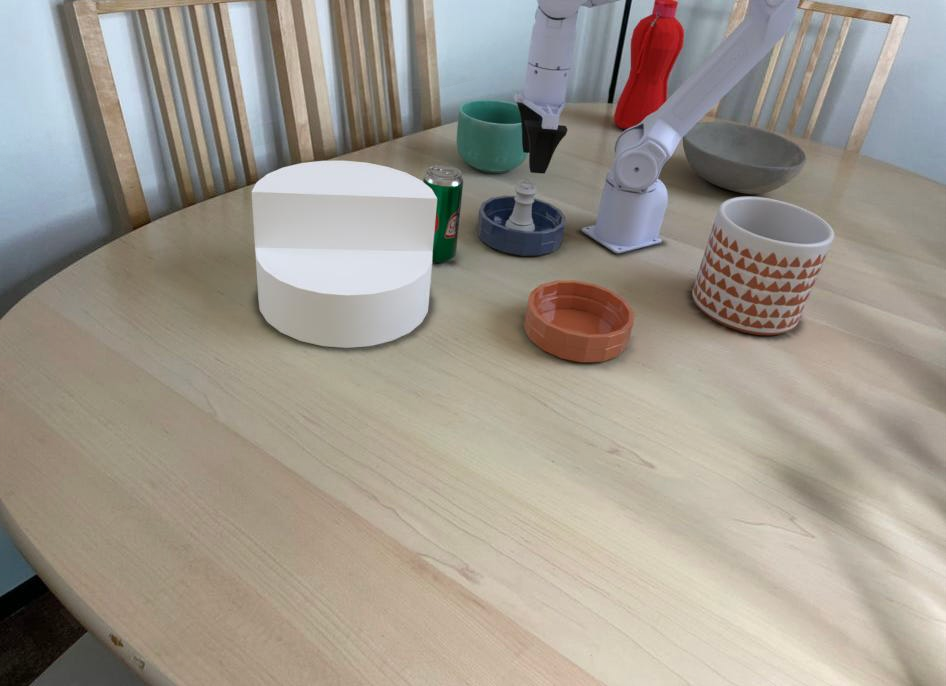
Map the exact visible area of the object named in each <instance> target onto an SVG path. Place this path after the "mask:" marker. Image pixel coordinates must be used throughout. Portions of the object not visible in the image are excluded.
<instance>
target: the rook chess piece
mask: <svg viewBox="0 0 946 686" xmlns="http://www.w3.org/2000/svg"><path fill="white" fill-rule="evenodd" d="M536 185H537V183H536V182H535V181H533V180H531V179H529V180H528V182H527V180H526V178H525V179H523V178H522V179H519V180H517V184H516V185H515V186H514V191H515V193H516V195H515V196H516V197H515V198H514V199H515V206H514V209H513V213H512V215H511V216H510V217H509V220H507V221H506V224H505V226H506V227H507V228H509V229H515V230H520V231H534V230H535V225H534V223H533V219H532V203H533V202H534V199H533V198H534V196H535V195H537V193H538V189H537V187H536Z"/></svg>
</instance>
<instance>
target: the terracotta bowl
mask: <svg viewBox="0 0 946 686" xmlns="http://www.w3.org/2000/svg"><path fill="white" fill-rule="evenodd" d="M634 323H635V311H634V310H633V309H632V307H631V306H630V304H629V302H628V301H627V300H626V299H625V298H623V297H622V296H620V295H619V294H617V293H616V292H614V291H613V290H611V289H608V288H606V287H603V286H601V285H598V284H595V283H592V282H586V281H580V280H574V279H573V280H571V279H568V280H567V279H565V280H553V281H548V282H545V283H542V284H539V285H538V286H537V287H535V288H534V289H533V290H532V291H530V293H529V296H528V300H527V306H526V312H525V317H524V323H523V328H524V331H525V333H526V335H527V337H528V339H529V340H530V341H532V343H534V344H535V345H536V346H537V347H538V348H540V349H541V350H542V351H544V352H547V353H549V354H551V355H552V356H556V357H557V358H560V359H563V360H567V361H573V362H578V363H601V362H606V361H608V360H611V359H615V358H618V357H620V355H621V354H622V353H623V352H624V351H625V350H626V349H627V348H628V345H629V342H630V337H631V334H632V331H633V328H634Z"/></svg>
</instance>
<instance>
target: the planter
mask: <svg viewBox="0 0 946 686" xmlns="http://www.w3.org/2000/svg"><path fill="white" fill-rule="evenodd" d="M713 221H714V222H713V224H712V228H711V231H710V234H709V237H708V240H707V242H706V243H707V244H706V246H705V249H704V253H703V256H702V258H701V262H700V266H699V268H698V272H697V274H696V278H695V281H694V284H693V286H692V291H691V297H692V300H693V302H694V304H695V306H696V307H697V308H698V309H699V311H700V312H701V313H703V314H704V315H705V316H706V317H708V318H709V319H711V320H713V321H714V322H715V323H718V324H720V325H722V326H724V327H726V328H729V329H731V330H734V331H737V332H741V333H745V334H748V335H749V334H750V335H757V336H778V335H783V334H786V333H788V332H790V331H792V330H794V329H795V328H796V327H797V326H798V324H799V321H800V319H801V317H802V314H803V313H804V309H805V307H806V305H807V303H808V300H809V298H810V296H811V294H812V291H813V289H814V286H815V284H816V281H817V280H818V277H819V275H820V273H821V269H822V268H823V265H824V263H825V261H826V258H827V256H828V253H829V251H830V249H831V247H832V244H833V242H834V239H835V232H834V229H833V228H832V226H831V225H830V224H829V223H828V222H827V221H826V220H824V219H823V218H822V217H820V216H819V215H817V214H816V213H814V212H812V211H810V210H808V209H805V208H803V207H801V206H798V205H795V204H793V203H790V202H786V201H782V200H778V199H774V198H768V197H762V196H736V197H732V198H728V199H726V200H724V201H723V202H721V204H720V205H719V206H718V209H717V212H716V215H715V218H714V220H713Z"/></svg>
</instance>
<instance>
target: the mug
mask: <svg viewBox="0 0 946 686" xmlns="http://www.w3.org/2000/svg"><path fill="white" fill-rule="evenodd" d="M456 127H457V128H456V129H457V130H456V146H457V147H456V148H457V153H458V154H459V156H460V158H461V159H462V160H463V161H464V162H465V163H467V164H468V165H470V166H471V167H472V168H473V169H475V170H478V171H480V172H483V173H490V174H501V173H502V174H503V173H506V172H509V171H510V170H513V169H515V168H517V167H519V166H521V165H522V164H523V163H524V161H525V160H526V159H527V157H528V156H529V153H524V152H523V147H522V125H521V117H520V112H519V108H518V105H517V103H514V102H509V101H505V100H496V99H476V100H475V99H474V100H470V101H466V102H464V103H462V104H461V105H460V107H459V110H458V117H457V126H456Z"/></svg>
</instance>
